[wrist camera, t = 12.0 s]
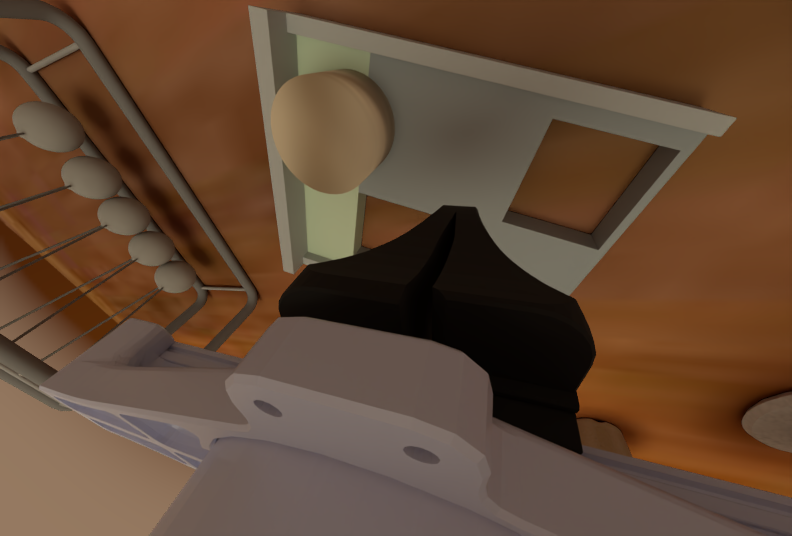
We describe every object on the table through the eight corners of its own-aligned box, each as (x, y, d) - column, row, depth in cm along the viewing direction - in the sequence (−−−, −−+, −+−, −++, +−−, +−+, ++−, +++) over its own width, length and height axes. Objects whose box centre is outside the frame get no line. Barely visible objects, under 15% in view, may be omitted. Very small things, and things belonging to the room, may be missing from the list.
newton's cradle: (6, 40, 24) (-611, 34, 11) (70, -1, 20) (-748, -88, 7) (210, 297, 41) (70, 419, 28) (265, 300, 37) (134, 442, 24)
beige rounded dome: (405, 87, 16) (383, 97, 13) (384, 183, 20) (363, 208, 17) (309, 54, 16) (266, 56, 13) (307, 155, 20) (273, 174, 17)
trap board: (701, 107, 14) (763, 126, 11) (533, 317, 26) (539, 358, 23) (298, 13, 17) (248, 5, 13) (309, 243, 28) (283, 270, 25)
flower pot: (531, 427, 38) (538, 506, 31) (578, 400, 31) (598, 492, 25) (598, 455, 37) (619, 541, 31) (660, 432, 31) (702, 535, 24)
